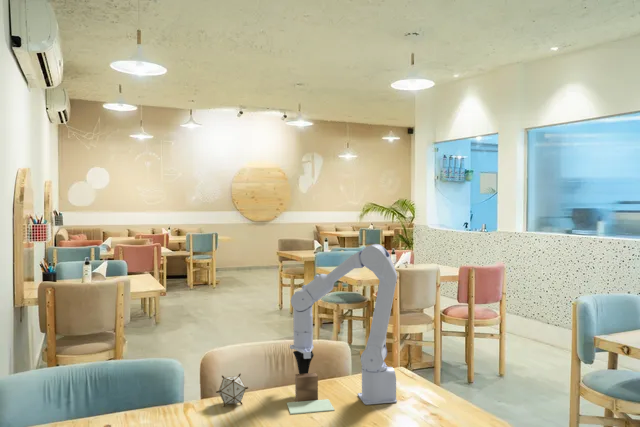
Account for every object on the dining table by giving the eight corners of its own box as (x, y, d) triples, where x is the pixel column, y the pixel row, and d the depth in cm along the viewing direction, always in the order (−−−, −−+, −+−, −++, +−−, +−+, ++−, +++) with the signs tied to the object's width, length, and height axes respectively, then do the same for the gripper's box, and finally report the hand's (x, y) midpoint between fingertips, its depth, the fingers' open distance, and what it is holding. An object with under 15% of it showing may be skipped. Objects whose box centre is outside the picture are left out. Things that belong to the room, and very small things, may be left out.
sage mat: (328, 400, 142) (328, 399, 142) (334, 410, 135) (334, 409, 135) (286, 403, 140) (286, 402, 140) (290, 414, 132) (290, 413, 132)
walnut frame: (315, 396, 145) (315, 372, 145) (317, 400, 142) (317, 376, 142) (295, 398, 144) (295, 374, 144) (297, 402, 141) (296, 377, 141)
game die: (236, 419, 138) (239, 398, 132) (209, 406, 140) (211, 385, 134) (251, 394, 145) (254, 373, 140) (225, 382, 147) (228, 361, 141)
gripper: (286, 325, 154) (286, 369, 155) (293, 337, 140) (293, 385, 140) (309, 324, 156) (309, 367, 156) (317, 335, 142) (318, 383, 142)
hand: (303, 376), depth 148 cm, fingers closed
